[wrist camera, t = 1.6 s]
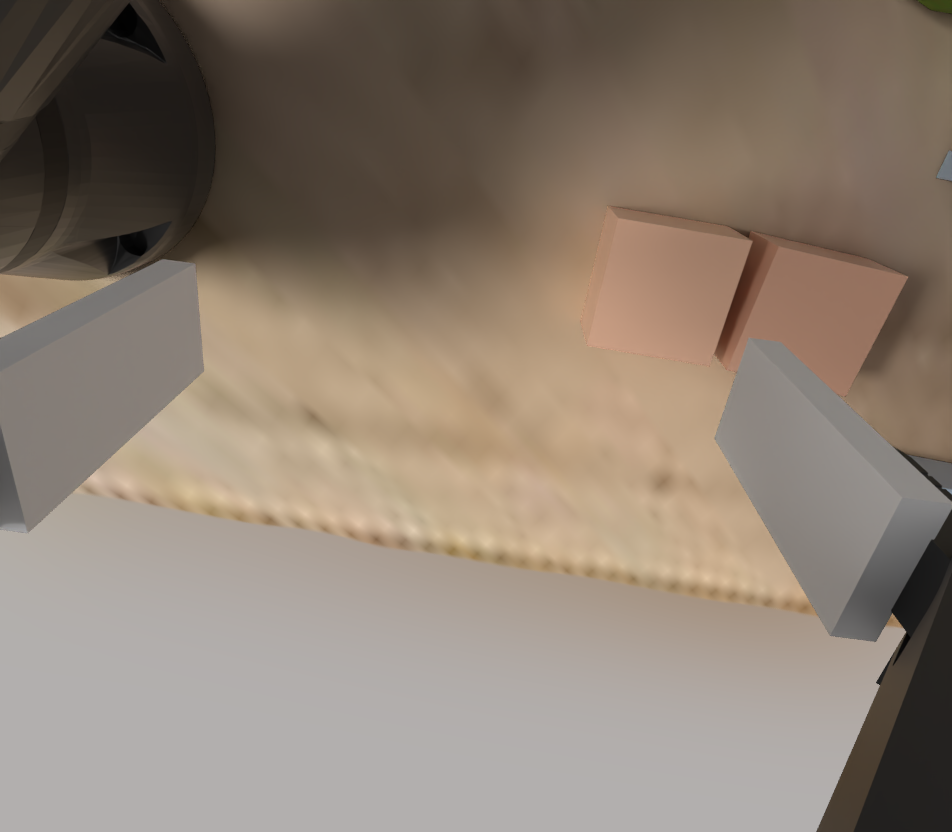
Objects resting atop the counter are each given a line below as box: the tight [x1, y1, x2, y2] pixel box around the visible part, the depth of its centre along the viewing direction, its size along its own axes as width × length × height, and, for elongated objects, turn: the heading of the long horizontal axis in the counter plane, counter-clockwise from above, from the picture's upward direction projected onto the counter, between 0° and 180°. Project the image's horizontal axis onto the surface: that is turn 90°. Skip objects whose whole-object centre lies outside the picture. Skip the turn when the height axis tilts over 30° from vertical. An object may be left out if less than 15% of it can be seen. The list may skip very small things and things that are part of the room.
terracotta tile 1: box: [580, 206, 753, 366], centre depth 31 cm, size 6×6×4 cm
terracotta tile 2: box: [714, 231, 908, 397], centre depth 31 cm, size 6×6×4 cm
